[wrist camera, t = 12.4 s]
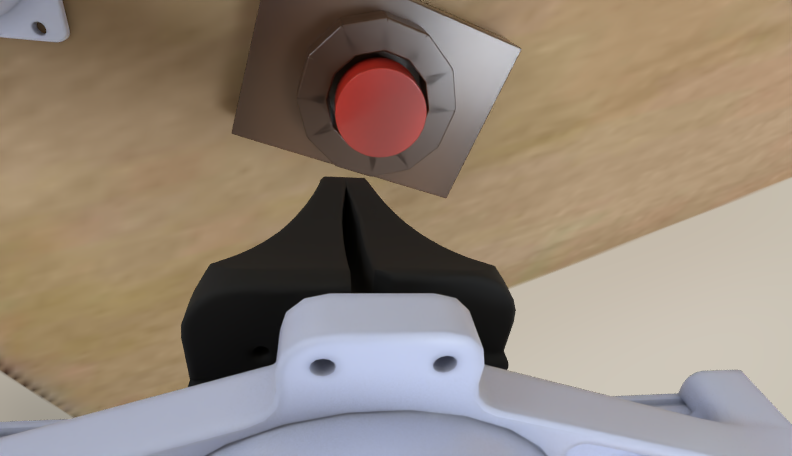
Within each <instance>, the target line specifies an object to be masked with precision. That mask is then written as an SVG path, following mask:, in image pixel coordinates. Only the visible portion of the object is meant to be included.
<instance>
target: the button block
mask: <svg viewBox="0 0 792 456" xmlns="http://www.w3.org/2000/svg"><path fill="white" fill-rule="evenodd" d="M520 51H521V48H520V47H518V46H517V45H515V44H514V43H512V42H510V41H509V40H507V39H505V38H503V37H501V36H498V35H496V34H494V33H492V32H489V31H487V30H485V29H483V28H480V27H478V26H476V25H473V24H471V23H469V22H467V21H464V20H462V19H460V18H457V17H455V16H453V15H451V14H448V13H446V12H444V11H442V10H439V9H437V8H435V7H432V6H430V5H428V4H426V3H423V2H421V1H419V0H260V5H259V9H258V14H257V18H256V23H255V28H254V32H253V37H252V41H251V46H250V51H249V55H248V60H247V64H246V69H245V73H244V78H243V83H242V87H241V92H240V96H239V101H238V106H237V110H236V115H235V119H234V124H233V129H232V134H235V135H238V136H241V137H244V138H248V139H251V140H254V141H258V142H261V143H264V144H268V145H271V146H274V147H278V148H281V149H284V150H288V151H291V152H294V153H298V154H301V155H304V156H308V157H311V158H314V159H317V160H321V161H324V162H327V163H331V164H334V165H335V166H338V167H341V168H344V169H347V170H351V171H354V172H357V173H361V174H364V175H367V176H372V177H373V176H374V177H377V178H380V179H384V180H387V181H390V182H394V183H397V184H400V185H404V186H407V187H410V188H414V189H417V190H420V191H424V192H427V193H430V194H434V195H437V196H440V197H443V198H447V196H448V194H449V192H450V190H451V188H452V186H453V184H454V182H455V180H456V178H457V176H458V174H459V172H460V170H461V168H462V166H463V164H464V162H465V160H466V158H467V156H468V154H469V152H470V150H471V148H472V146H473V144H474V142H475V140H476V138H477V136H478V134H479V132H480V130H481V128H482V126H483V124H484V122H485V120H486V119H487V117H488V115H489V113H490V111H491V109H492V107H493V105H494V103H495V101H496V99H497V97H498V95H499V93H500V91H501V89H502V87H503V85H504V83H505V81H506V79H507V77H508V75H509V73H510V71H511V69H512V67H513V65H514V63H515V61H516V59H517V57H518V55H519V53H520ZM376 57H378V58H387V59H391V60H394V61H396V62H398V63H400V64H401V65H403V66H404V67H405V68H406V69H408V71H409V72H410V73H411V74H412V76H413V77H414V79H415V80H416V82H417V84H418V86H419V87H420V89H421V91H422V93H423V95H424V98H425V101H426V108H427V115H426V121H425V125H424V128H423V130H422V132H421V134H420V136H419V137H418V139H417V140H416V141H415V142H414V143H413V144H412V145H411V146H410V147H409V148H407V149H406V150H404V151H403V152H401V153H399V154H396V155H393V156H389V157H371V156H367V155H364V154H361V153H359V152H357V151H356V150H354V149H353V148H351V147H350V146H349V145H348V144H347V143H346V142H345V140H344V139H343V138H342V136H341V135H340V132H339V130H338V128H337V124H336V119H335V93H336V89H337V86H338V83H339V81H340V79H341V77H342V76H343V75H344V73H345V72H346V71H347V70H348V69H349V68H350V67H352V66H353V65H354V64H356V63H358V62H360V61H362V60H365V59H369V58H376Z"/></svg>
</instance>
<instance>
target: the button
mask: <svg viewBox="0 0 792 456" xmlns="http://www.w3.org/2000/svg"><path fill="white" fill-rule="evenodd" d="M426 115H427V108H426V101H425V98H424V95H423V93H422V91H421V89H420V87H419V86H418V84H417V82H416V80H415V79H414V77H413V76H412V74H411V73H410V72H409V71H408V69H406V68H405V67H404V66H403V65H401V64H400V63H398V62H396V61H394V60H391V59H387V58H378V57H376V58H369V59H365V60H362V61H360V62H358V63H356V64H354V65H353V66H352V67H350V68H349V69H348V70H347V71H346V72H345V73H344V75H343V76H342V77H341V79H340V81H339V83H338V86H337V89H336V93H335V119H336V124H337V128H338V130H339V132H340V135H341V136H342V138H343V139H344V140H345V142H346V143H347V144H348V145H349V146H350V147H351V148H353V149H354V150H356V151H357V152H359V153H361V154H364V155H367V156H371V157H389V156H393V155H396V154H399V153H401V152H403V151H404V150H406V149H407V148H409V147H410V146H411V145H412V144H413V143H414V142H415V141H416V140H417V139H418V137H419V136H420V134H421V132H422V130H423V128H424V125H425V121H426Z"/></svg>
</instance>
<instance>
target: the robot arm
mask: <svg viewBox="0 0 792 456" xmlns="http://www.w3.org/2000/svg"><path fill="white" fill-rule="evenodd" d="M37 22H40V23H42V24H43V25H44V26H45V28H46V33H42V32H41V31H40V30H39V29H38V27H37ZM69 35H70V29H69V25H68V21H67V17H66V13H65V9H64V5H63V1H62V0H0V37H3V38H14V39H25V40H36V41H47V42H62V41H64V40H66V39H67V38H68V37H69ZM515 311H516V310H515V305H514V300H513V298H512V296H511V294H510V292H509V290H508V287H507V286H506V284H505V282H504V280H503V278H502V277H501V275H500V274H499V272H498V271H497V269H496V267H495V266H493V265H490V264H486V263H483V262H480V261H477V260H474V259H470V258H468V257H465V256H462V255H460V254H458V253H455V252H453V251H451V250H449V249H446V248H444V247H442V246H440V245H439V244H437V243H435V242H433V241H431V240H430V239H428V238H426V237H425V236H423V235H422V234H420V233H419V232H417V231H416V230H415V229H413V228H412V227H410V226H409V225H408V224H406V223H405V222H404V221H403V220H402V219H401V218H399V217H398V216H397V215H396V214H395V213H394V212H393V211H392V210H391V209H390V208H389V207H388V206H387V205H386V204H385V203H384V201H383V200H382V199H381V198H380V197H379V196H378V194H377V193H376V192H375V191H374V189H373V188H372V187H371V185H370V184H369V183H368V182H367V180H366V179H365V178H347V177H323V178H322V179H321V180H320V183H319V185H318V187H317V189H316V191H315V192H314V194H313V196H312V197H311V198H310V200H309V201H308V203H307V204H306V205H305V206H304V208H303V209H302V210H301V211H300V212H299V213H298V214H297V216H296V217H295V218H294V219H293V220H292V221H291V222H290V223H289V224H288V225H287V226H285V227H284V228H283V229H282V230H281V231H280V232H278V233H277V234H275V235H274V236H272V237H271V238H269V239H268V240H266V241H265V242H263V243H261V244H259V245H257V246H255V247H254V248H252V249H249V250H247V251H245V252H243V253H241V254H238V255H236V256H233V257H230V258H227V259H224V260H221V261H218V262H215V263H212V264H210V265H209V267H208V269H207V270H206V272H205V273H204V275H203V277H202V278H201V280H200V282H199V283H198V285H197V287H196V288H195V290H194V292H193V294H192V297H191V299H190V302H189V304H188V307H187V310H186V313H185V316H184V318H183V321H182V324H181V339H182V343H183V348H184V353H185V358H186V363H187V367H188V372H189V377H190V382H189V385H188V387H187V388H184V389H180V390H176V391H172V392H169V393H165V394H161V395H158V396H154V397H150V398H146V399H143V400H139V401H135V402H131V403H128V404H124V405H120V406H117V407H113V408H109V409H105V410H102V411H98V412H94V413H91V414H87V415H83V416H79V417H76V418H72V419H59V420H34V421H10V422H0V456H792V424H791V423H790V422H789V421H788V420H787V419H786V418H785V417H784V416H783V415H782V414H781V413H780V411H778V409H777V408H776V407H775V406H774V405H773V404H772V403H771V402H770V401H769V400H768V399H767V398H766V397H765V395H764V394H763V393H762V392H761V391H760V390H759V389H758V388H757V387H756V386H755V385H754V384H753V383H752V382H751V381H750V379H749V378H748V377H747V376H746V375H745V374H744V373H743V372H742V371H741V370H712V371H700V372H696V373H694V374H692V375H690V376H689V377H688V378H687V379H686V380H685V382H684V383H683V385H682V386H681V389H680V391H679V393H677V394H653V395H631V396H630V395H629V396H608V395H604V394H600V393H596V392H592V391H588V390H584V389H580V388H576V387H572V386H568V385H564V384H560V383H556V382H552V381H548V380H544V379H540V378H536V377H532V376H528V375H524V374H520V373H516V372H512V371H508V370H507V369H508V361H507V358H506V356H505V353H504V348H505V345H506V342H507V339H508V336H509V334H510V331H511V328H512V325H513V322H514V316H515Z"/></svg>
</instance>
